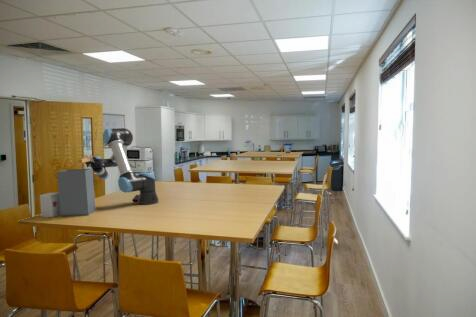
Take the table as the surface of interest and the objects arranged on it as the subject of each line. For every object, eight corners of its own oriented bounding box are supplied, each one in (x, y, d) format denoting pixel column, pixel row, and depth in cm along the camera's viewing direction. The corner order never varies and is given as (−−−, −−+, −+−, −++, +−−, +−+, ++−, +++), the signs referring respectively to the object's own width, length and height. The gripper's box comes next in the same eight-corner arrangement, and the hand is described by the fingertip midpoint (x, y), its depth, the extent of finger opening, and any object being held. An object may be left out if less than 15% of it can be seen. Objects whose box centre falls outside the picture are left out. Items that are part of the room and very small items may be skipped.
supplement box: (52, 217, 217) (50, 195, 216) (41, 217, 219) (39, 195, 217) (62, 214, 226) (60, 192, 224) (51, 213, 227) (49, 192, 226)
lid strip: (94, 160, 254) (94, 156, 254) (82, 162, 230) (81, 159, 230) (90, 160, 254) (90, 157, 254) (77, 163, 230) (77, 159, 230)
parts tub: (95, 210, 232) (92, 168, 229) (88, 215, 219) (85, 170, 216) (69, 212, 231) (65, 169, 228) (60, 216, 218) (56, 171, 215)
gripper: (108, 172, 266) (98, 160, 244) (87, 173, 264) (76, 161, 243) (109, 164, 269) (99, 151, 248) (88, 165, 268) (77, 152, 246)
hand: (88, 156), depth 245 cm, fingers closed on lid strip, 3 cm apart
